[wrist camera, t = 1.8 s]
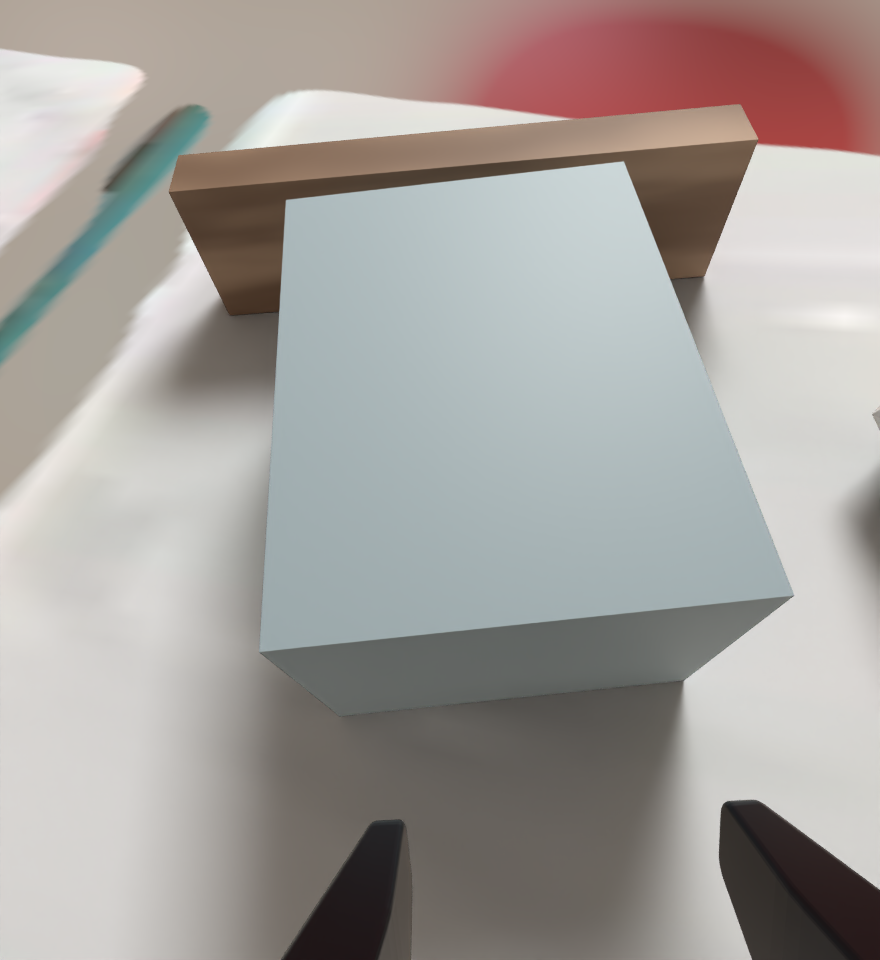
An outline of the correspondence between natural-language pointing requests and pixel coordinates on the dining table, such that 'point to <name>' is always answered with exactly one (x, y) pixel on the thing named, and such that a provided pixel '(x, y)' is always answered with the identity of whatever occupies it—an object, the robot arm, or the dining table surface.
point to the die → (877, 416)
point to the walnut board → (459, 156)
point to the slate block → (497, 452)
